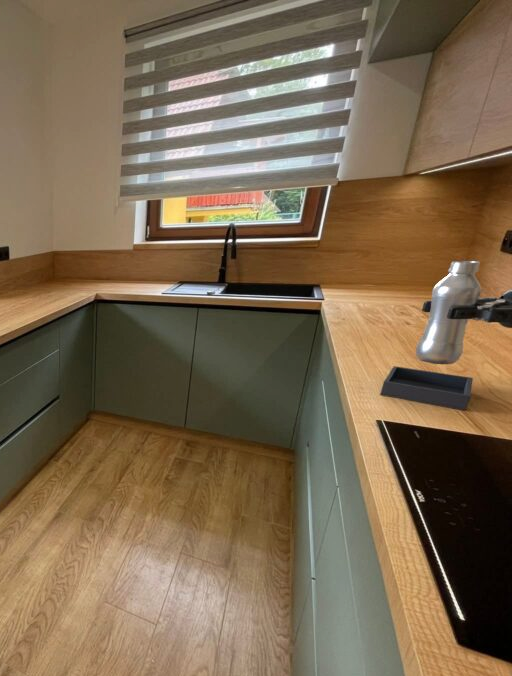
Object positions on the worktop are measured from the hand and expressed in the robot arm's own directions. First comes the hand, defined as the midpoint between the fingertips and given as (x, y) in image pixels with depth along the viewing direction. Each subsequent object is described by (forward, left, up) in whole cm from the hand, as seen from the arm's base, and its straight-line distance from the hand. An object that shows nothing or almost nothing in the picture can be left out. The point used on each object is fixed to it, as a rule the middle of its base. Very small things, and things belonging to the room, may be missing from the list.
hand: (436, 309), depth 84 cm
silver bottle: (-1, -2, -11) cm, 11 cm away
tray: (-1, -2, -18) cm, 18 cm away
